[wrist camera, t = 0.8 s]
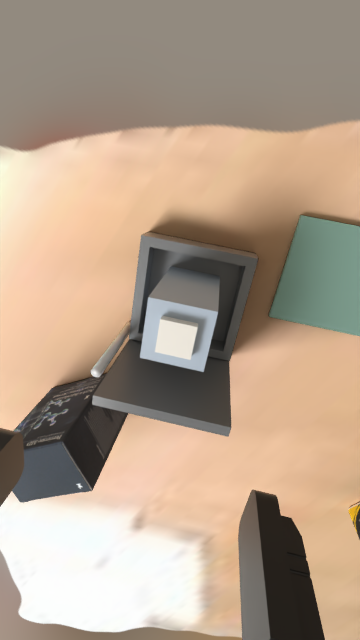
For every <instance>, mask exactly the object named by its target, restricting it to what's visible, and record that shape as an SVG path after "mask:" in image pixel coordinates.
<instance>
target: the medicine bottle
mask: <svg viewBox="0 0 360 640" xmlns="http://www.w3.org/2000/svg"><path fill="white" fill-rule="evenodd" d="M348 511H349V514H350V516H351V519H352V521H353V524H354V526H355V529H356V532H357V534H358V537H359V539H360V502H359V503H357V504H355V505H353V506H351V507H349V508H348Z"/></svg>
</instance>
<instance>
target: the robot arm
mask: <svg viewBox="0 0 360 640" xmlns="http://www.w3.org/2000/svg"><path fill="white" fill-rule="evenodd" d="M23 469H24V448H23V435H22V434H21V433H19V432H15V431H10V430H6V429H2V428H0V506H1V505H2V504H3V502H4V501H5V499H6V498H7V497H8V495H9V494H10V492H11V491H12V490H13V488H14V487H15V485H16V484H17V483H18V481H19V479H20V477H21V475H22V472H23ZM238 542H239V567H240V593H241V618H242V640H325V638H324V633H323V629H322V625H321V620H320V616H319V611H318V607H317V602H316V598H315V593H314V589H313V585H312V580H311V578H310V571H309V567H308V562H307V561H306V553H305V549H304V545H303V540H302V536H301V535H300V533H299V531H298V529H297V527H296V526H295V524H294V522H293V520H292V518H289V517H285V516H281V515H280V510H279V504H278V499H277V497H276V495H273V494H269V493H265V492H261V491H256V490H252V491H251V493H250V496H249V498H248V501H247V504H246V506H245V509H244V512H243V514H242V517H241V520H240V525H239V535H238Z"/></svg>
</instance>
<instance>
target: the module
mask: <svg viewBox="0 0 360 640" xmlns="http://www.w3.org/2000/svg"><path fill="white" fill-rule="evenodd" d="M219 286H220V276H216V275H211V274H206V273H201V272H196V271H191V270H187V269H182V268H177V267H172V266H171V267H170V268H169V270H168V271H167V272H166V274H165V275H164V276H163V278H162V279H161V281H160V282H159V283H158V285H157V286H156V287H155V289H154V290H153V291H152V293H151V294H150V295H149V297H148V303H147V310H146V317H145V324H144V331H143V338H142V345H141V353H140V358H143V359H148V360H152V361H157V362H161V363H166V364H170V365H175V366H179V367H184V368H188V369H192V370H197V371H201V372H204V368H205V364H206V360H207V356H208V352H209V348H210V344H211V339H212V335H213V331H214V327H215V323H216V319H217V315H218V306H219Z"/></svg>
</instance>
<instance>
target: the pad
mask: <svg viewBox="0 0 360 640" xmlns="http://www.w3.org/2000/svg"><path fill="white" fill-rule="evenodd" d="M269 317H272V318H277V319H282V320H286V321H291V322H296V323H300V324H305V325H310V326H315V327H319V328H324V329H329V330H333V331H338V332H343V333H348V334H352V335H357V336H360V226H355V225H350V224H345V223H340V222H334V221H329V220H324V219H319V218H314V217H308V216H303V215H300V218H299V221H298V224H297V227H296V230H295V233H294V237H293V240H292V243H291V246H290V249H289V252H288V255H287V259H286V262H285V265H284V268H283V271H282V274H281V277H280V281H279V284H278V287H277V290H276V293H275V296H274V299H273V303H272V306H271V309H270V312H269Z"/></svg>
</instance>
